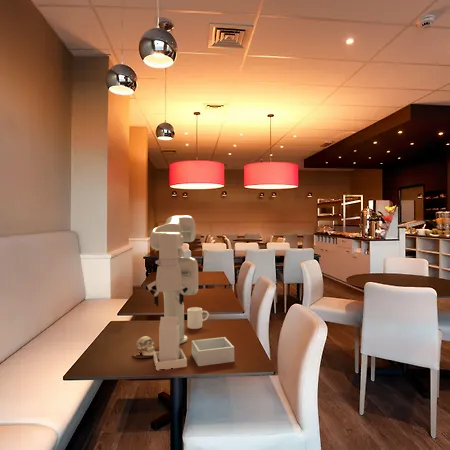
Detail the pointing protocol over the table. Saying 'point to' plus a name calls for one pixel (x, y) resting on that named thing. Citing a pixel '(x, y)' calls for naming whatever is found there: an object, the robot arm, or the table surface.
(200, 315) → the mug
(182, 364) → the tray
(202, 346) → the tub
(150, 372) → the table surface
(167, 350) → the milk carton
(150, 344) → the skull
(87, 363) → the table surface
